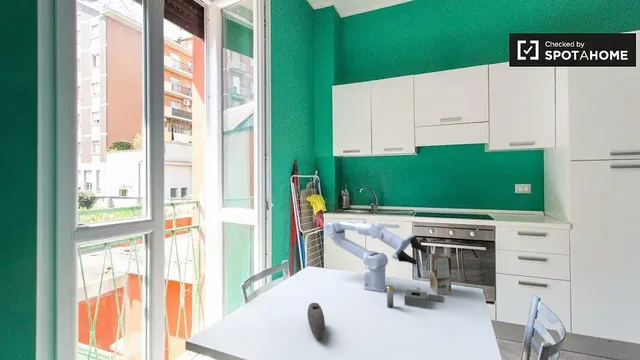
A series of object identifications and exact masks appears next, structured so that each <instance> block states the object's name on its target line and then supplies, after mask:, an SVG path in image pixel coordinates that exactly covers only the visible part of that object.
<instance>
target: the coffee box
mask: <svg viewBox="0 0 640 360" xmlns="http://www.w3.org/2000/svg"><path fill="white" fill-rule="evenodd" d="M429 276H430V277H429V279H430V280H429V282H430V283H429V284H430V285H429V288H430V289H431V290H432V291H434V293H435V294H436V295H452V257H449V256H448V255H446V254H444V253H439V252H438V253H429Z"/></svg>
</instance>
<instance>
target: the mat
mask: <svg viewBox="0 0 640 360" xmlns="http://www.w3.org/2000/svg"><path fill="white" fill-rule="evenodd" d="M443 297H444V296H443V295H440V294H431V293H427V301H431V302H436V303H443V302H444V301H443V300H444V299H443Z"/></svg>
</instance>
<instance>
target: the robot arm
mask: <svg viewBox="0 0 640 360" xmlns="http://www.w3.org/2000/svg"><path fill="white" fill-rule="evenodd" d="M324 230H325V234H326V236H328V237H329V238H330V239H331V240H332V241H333V242H334V244H335V245H336V246H338V247H339V248H341V249H343V250H345V251H347V252H349V253H350V254H352V255H354V256H355V257H357V258H359V259H361V260H363V264H364V265H365V266H367V267H366V268H365V269H364V273H363V274H364V276H363V277H364V279H363V280H364V281H363V282H364V283H363V285H364V286H363V287H364V288H363V289H364V290H369V291H375V292H383V293H385V292H386V291H387V286H388V285H387V284H386V266H387V265H388V262H389V258H388V256H387V255H386V254H385V253H384V252H378V251H374V250H369V249H368V248H366V247H363V246H362V245H360V244H358V243H356V242H354V241H352V240H351V239H348V238H346V230H347V231H353V232H355V231H356V232H357V234H359V235H363V236H367V237H371V239H373V240H375V239H378V240H379V241H381V242H383V243H384V244H386V245H387V246H389V247H391V248H392V249H393V250H395V251H394V252H393V254H392V259H394V260H395V261H396V260H397V261H398V262H400V263H401V262H405V263H409V264H411V265H417V262H418V261H417V260H416V259H415V258H414V257H413V256H411V255H409V254H407V253H406V251H405V250H406V249H407V247H409V246H410V245H411V247H410V248H412V249H416V250H419V252H421V253H424V254H426V253H427V248H426V247H424V245H423V244H422V243H420V241H419V240H418V238H417V236H415V235H413V234H410V235H409V236H407V237H406V238H405V239H404V238H403V237H400V236H399V235H396V234H395V233H394V232H391V231H390V230H388V229H387V228H385V226H384V225H383V224H380V223H378V224H375V223H374V222H373V223H366V221H361V222H358V224H357V223H354V222H348V221H345V220H343V221H341V220H338V221H332V222H328V223H326V224H325V227H324Z"/></svg>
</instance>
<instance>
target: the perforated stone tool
mask: <svg viewBox="0 0 640 360" xmlns="http://www.w3.org/2000/svg"><path fill="white" fill-rule="evenodd" d="M307 321H308V325H309V328H310V329H311V331H312V333H313V335H314V337H315V338H316V339H318V340H320V339H322V338H323V336H324V335H325V332H326V331H325V330H326V323H325V322H326V321H325V316H324V313H323V308H322V307H321V305H320V304H319V303H318V302H311V303H310V304H309V305H308V308H307Z"/></svg>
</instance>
